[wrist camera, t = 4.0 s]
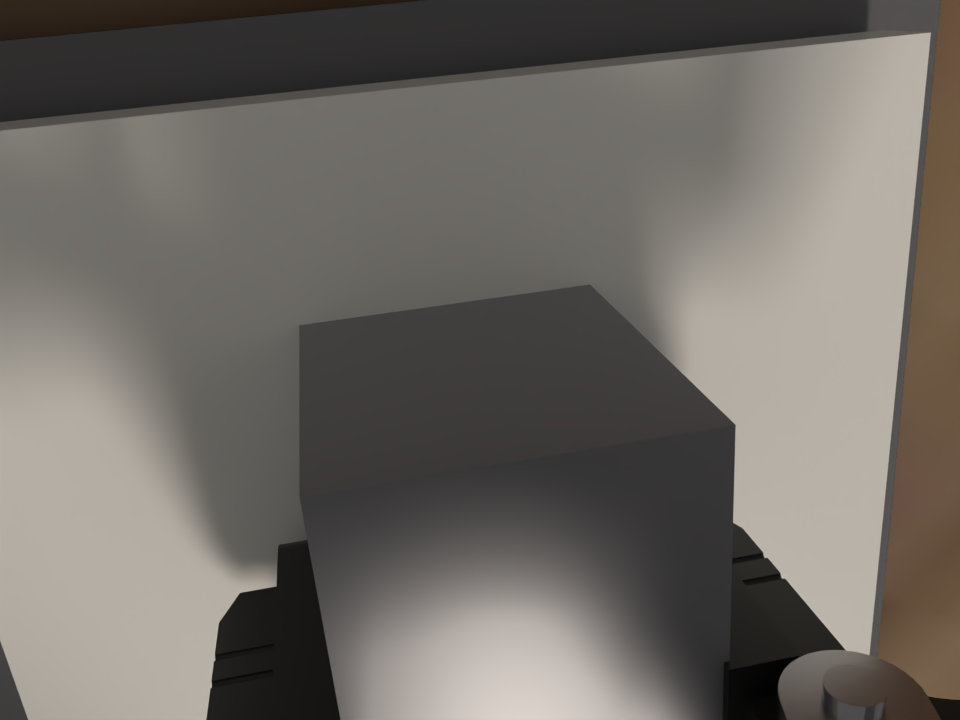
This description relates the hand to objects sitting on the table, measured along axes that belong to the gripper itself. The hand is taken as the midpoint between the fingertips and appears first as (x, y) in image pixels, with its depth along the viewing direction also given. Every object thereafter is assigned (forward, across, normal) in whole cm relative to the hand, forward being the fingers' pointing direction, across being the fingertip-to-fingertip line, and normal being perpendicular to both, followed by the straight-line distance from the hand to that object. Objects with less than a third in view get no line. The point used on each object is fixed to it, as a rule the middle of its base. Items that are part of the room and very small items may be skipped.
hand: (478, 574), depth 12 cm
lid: (+1, 0, 0) cm, 1 cm away
